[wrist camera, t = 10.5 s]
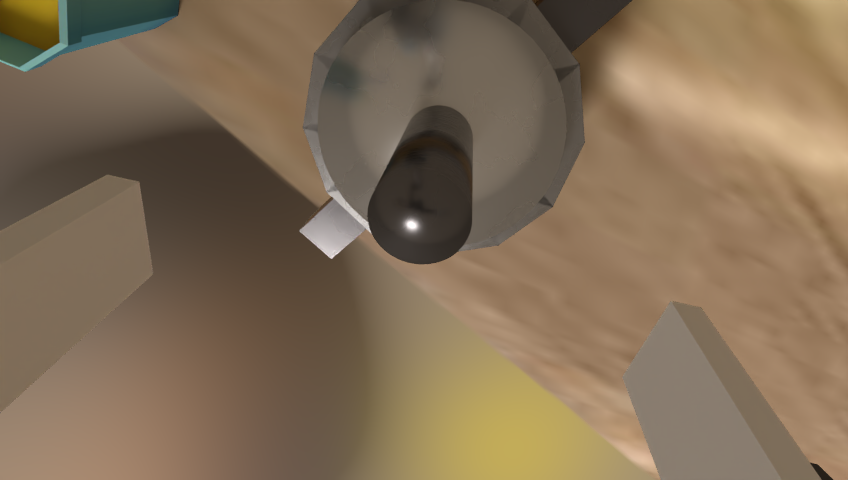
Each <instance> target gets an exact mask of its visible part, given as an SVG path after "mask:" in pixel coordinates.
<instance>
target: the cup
mask: <svg viewBox="0 0 848 480" xmlns="http://www.w3.org/2000/svg"><path fill="white" fill-rule="evenodd" d="M178 9H179V0H0V62H3V63H5V64H7V65H10V66H12V67H15V68H17V69H20V70H22V71H25V72H26V71H29V70H32V69H35V68H37V67H40V66H42V65H44V64H46V63H47V62H49V61H51V60H52V59H54V58H56V57H57V56H59V55H61V54H65V53H69V52H72V51H76V50H79V49H83V48H86V47H90V46H94V45H97V44H101V43H104V42H108V41H112V40H115V39H119V38H123V37H126V36H130V35H133V34H137V33H141V32H144V31H148V30H152V29H155V28H157V27H159V26H160V25H162V24H164V23H165V22H167V21H169V20H171V19H172V18H174V17H176V16H178Z"/></svg>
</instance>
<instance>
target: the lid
mask: <svg viewBox="0 0 848 480" xmlns="http://www.w3.org/2000/svg"><path fill="white" fill-rule="evenodd" d="M566 124H567V118H566V109H565V101H564V97H563V94H562V90H561V86H560V83H559V81H558V78H557V76H556V73H555V71H554V69H553V67H552V65H551V64H550V62H549V60H548V59H547V57H546V55H545V54H544V52H543V51H542V50H541V49H540V47H539V46H538V45H537V44H536V42H535V41H534V40H533V39H532V38H531V37H530V36H529V35H528V34H527V33H526V32H525V31H524V30H522V29H521V28H520V27H519V26H518V25H516V24H515V23H514V22H512V21H511V20H509V19H508V18H506V17H505V16H503V15H501V14H499V13H497V12H495V11H493V10H491V9H489V8H487V7H484V6H481V5H478V4H475V3H471V2H466V1H460V0H425V1H418V2H413V3H409V4H406V5H403V6H399V7H396V8H394V9H392V10H390V11H388V12H385V13H383V14H381V15H379V16H378V17H376V18H375V19H373V20H372V21H370V22H369V23H367V24H366V25H364V26H363V27H362V28H361V29H360V30H359V31H358V32H357V33H355V34H354V35H353V36H352V37H351V38H350V39H349V41H348V42H347V43H346V44H345V46H344V47H343V48H342V49H341V50H340V52H339V53H338V55H337V57H336V58H335V60H334V62H333V63H332V65H331V67H330V69H329V72H328V74H327V76H326V78H325V81H324V84H323V88H322V91H321V95H320V100H319V107H318V137H319V145H320V149H321V153H322V157H323V160H324V163H325V165H326V168H327V171H328V173H329V175H330V177H331V179H332V181H333V183H334V185H335V186H336V188H337V189H338V191H339V192H340V194H341V195H342V197H343V198H344V199H345V200H346V202H347V203H348V204H349V205H350V206H351V207H352V208H353V210H355V211H356V212H357V213H358V214H359V215H360V216H361V217H362V218H363V219H365V220H366V221H367V222H368V224H369V228H370V230H371V233H372V235H373V237H374V238H375V240H376V241H377V243H378V244H379V245H380V246H381V247H382V248H383V249H384V250H385V251H386V252H387V253H389V254H390V255H392V256H394V257H395V258H397V259H400V260H402V261H405V262H409V263H414V264H431V263H437V262H440V261H443V260H445V259H447V258H449V257H451V256H453V255H454V254H455V253H456V252H458V251H459V250H460V249H461V248H462V246H463V245H468V244H473V243H476V242H480V241H483V240H486V239H488V238H491V237H493V236H495V235H498V234H500V233H501V232H503V231H505V230H507V229H508V228H510V227H512V226H513V225H514V224H516V223H517V222H518V221H520V220H521V219H523V218H524V217H525V216H526V215H527V214H528V213H529V212H530V211H531V210H532V209H533V208H534V207H535V206H536V205H537V203H538V202H539V201H540V200H541V199H542V197H543V196H544V195H545V193H546V191H547V190H548V188H549V187H550V185H551V183H552V182H553V179H554V177H555V175H556V173H557V171H558V168H559V165H560V162H561V159H562V156H563V152H564V146H565V140H566Z"/></svg>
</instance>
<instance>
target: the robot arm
mask: <svg viewBox="0 0 848 480" xmlns="http://www.w3.org/2000/svg"><path fill="white" fill-rule="evenodd" d="M140 191H141V190H140V184H139V182H138V181H133V180H129V179H124V178H120V177H115V176H111V175H106V176H104V177H102V178H101V179H98V180H96V181H95V182H93V183H91V184H89V185H87V186H85V187H83V188H81V189H79V190H77V191H76V192H74V193H72V194H70V195H68V196H66V197H64V198H62V199H60V200H58V201H56V202H55V203H53V204H51V205H49V206H47V207H45V208H43V209H41V210H39V211H37V212H35V213H34V214H32V215H30V216H28V217H26V218H24V219H22V220H20V221H18V222H16V223H14V224H13V225H11V226H9V227H7V228H5V229H3V230H1V231H0V413H1V412H2V411H3V410H4V409H5V408H6V407H7V406H8V405H9V404H10V403H12V402H13V401H14V400H15V399H16V398H17V397H18V396H19V395H20V394H21V393H22V392H24V391H25V390H26V389H27V388H28V387H29V386H30V385H31V384H32V383H34V382H35V381H36V380H37V379H38V378H39V377H40V376H41V375H42V374H44V372H46V371H47V370H48V369H49V368H50V367H51V366H52V365H53V364H54V363H56V362H57V361H58V360H59V359H60V358H61V357H62V356H63V355H64V354H66V352H68V351H69V350H70V349H71V348H72V347H73V346H74V345H75V344H77V343H78V342H79V341H80V340H81V339H82V338H83V337H84V336H85V335H86V334H87V333H89V332H90V331H91V330H92V329H93V328H94V327H95V326H96V325H97V324H99V323H100V322H101V321H102V320H103V319H104V318H105V317H106V316H107V315H108V314H109V313H111V312H112V311H113V310H114V309H115V308H116V307H117V306H118V305H119V304H120V303H122V302H123V301H124V300H125V299H126V298H127V297H128V296H129V295H130V294H131V293H133V292H134V291H135V290H136V289H137V288H138V287H139V286H140V285H141V284H142V283H144V282H145V281H146V280H147V279H148V278H149V277H150V276H151V275H152V274H153V269H152V263H151V256H150V249H149V243H148V236H147V230H146V223H145V218H144V210H143V204H142V197H141V192H140ZM623 380H624V383H625V385H626V388H627V391H628V393H629V396H630V399H631V401H632V404H633V407H634V409H635V412H636V415H637V417H638V420H639V423H640V425H641V428H642V431H643V433H644V436H645V439H646V441H647V444H648V447H649V449H650V452H651V455H652V457H653V460H654V462H655V465H656V468H657V470H658V473H659V476H660V478H661V480H833V479H832V478H831V477H830V476H829V475H828V474H827V473H826V472H825V471H824V470H823V469H822V468H821V467H820V466H819V465H818V464H813V463H810V462H809V461H808V459H807V458H806V457H805V455H804V454H803V452H802V451H801V449H800V448H799V447H798V445H797V444H796V442H795V441H794V439H793V438H792V437H791V435H790V434H789V432H788V431H787V429H786V428H785V427H784V425H783V424H782V422H781V421H780V419H779V418H778V417H777V415H776V414H775V412H774V411H773V409H772V408H771V407H770V405H769V404H768V402H767V401H766V399H765V398H764V397H763V395H762V394H761V392H760V391H759V389H758V388H757V387H756V385H755V384H754V382H753V381H752V379H751V378H750V377H749V375H748V374H747V372H746V371H745V369H744V368H743V367H742V365H741V364H740V362H739V361H738V359H737V358H736V357H735V355H734V354H733V352H732V351H731V349H730V348H729V347H728V345H727V344H726V342H725V341H724V339H723V338H722V337H721V335H720V334H719V332H718V331H717V329H716V328H715V327H714V325H713V324H712V322H711V321H710V319H709V318H708V317H707V315H706V314H705V312H704V311H703V309H702V308H701V307H697V306H692V305H688V304H683V303H679V302H674V301H670V303H669V305H668V306H667V308H666V309H665V311H664V312H663V314H662V316H661V317H660V319H659V320H658V322H657V323H656V325H655V327H654V328H653V330H652V331H651V333H650V334H649V336H648V338H647V339H646V341H645V342H644V344H643V345H642V347H641V349H640V350H639V352H638V353H637V355H636V356H635V358H634V360H633V361H632V363H631V364H630V366H629V367H628V369H627V371H626V372H625V374H624V375H623Z"/></svg>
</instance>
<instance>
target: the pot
mask: <svg viewBox="0 0 848 480" xmlns="http://www.w3.org/2000/svg"><path fill="white" fill-rule="evenodd" d="M418 1H425V0H359V1H358V2H357V4H356V5H355V6H354V7H353V8H352V10H351V11H350V12H349V13H348V14H347V15H346V17H345V18H344V19H343V20H342V21H341V23H340V24H339V25H338V26H337V27H336V28H335V30H334V31H333V32H332V33H331V34H330V36H329V37H328V38H327V39H326V40H325V41H324V43H323V44H322V45H321V46H320V47H319V49H318V50H317V51H316V52H315V53H314V58H313V65H312V71H311V78H310V84H309V91H308V98H307V104H306V111H305V117H304V124H303V129H304V132H305V134H306V137H307V140H308V142H309V145H310V148H311V151H312V153H313V156H314V159H315V161H316V164H317V167H318V170H319V172H320V175H321V178H322V180H323V183H324V186H325V189H326V192H327V193H328V194H329V195H330V196H332V197H331V198H330V199H329V200H327V201H326V202H325V203H324V204H323V205H322V206H321V207H320V208H319V209H318V210H317V211H316V212H315V213H314V214H313V215H312V216H311V217H310V218H309V219H308V220H307V221H306V223H305V224H304V225H303V227H302V228H301V230H300V232H301V233H302V234H303V235H305V236H306V237H307V238H308V239H309V240H310V241H311V242H313V243H314V244H315V245H316V246H317V247H318V248H320V249H321V250H322V251H323V252H324V253H325V254H326V255H328V256H329V257H330V258H333V257H334V256H335V255H336V254H338V253H339V252H340V251H341V250H342V249H343V248H344V247H346V246H347V245H348V244H349V243H350V242H351V241H353V240H354V239H355V238H356V237H357V236H359V235H360V234H361V233H362V232H363V231H364V230H365V229H367V230H368V231H369V232H370V233H371V230H370V228H369V224H368V222H367V221H366V220H365V219H363V218H362V217H361V216H360V215H359V214H358V213H357V212H356V211H355V210H353V208H352V207H351V206H350V205H349V204H348V203H347V202H346V200H345V199H344V198H343V197H342V195H341V194H340V192H339V191H338V189H337V188H336V186H335V185H334V183H333V181H332V179H331V177H330V175H329V173H328V171H327V168H326V165H325V163H324V160H323V157H322V153H321V149H320V145H319V137H318V107H319V100H320V95H321V91H322V88H323V84H324V81H325V78H326V76H327V74H328V72H329V69H330V67H331V65H332V63H333V62H334V60H335V58H336V57H337V55H338V53H339V52H340V50H341V49H342V48H343V47H344V46H345V44H346V43H347V42H348V41H349V39H350V38H351V37H352V36H353V35H354V34H355V33H357V32H358V31H359V30H360V29H361V28H362V27H363V26H364V25H366V24H367V23H369V22H370V21H372V20H373V19H375V18H376V17H378V16H379V15H381V14H383V13H385V12H388V11H390V10H392V9H394V8H396V7H399V6H403V5H406V4H409V3H413V2H418ZM460 1H466V2H471V3H475V4H478V5H481V6H484V7H487V8H489V9H491V10H493V11H495V12H497V13H499V14H501V15H503V16H505V17H506V18H508V19H509V20H511V21H512V22H514V23H515V24H516V25H518V26H519V27H520V28H521V29H522V30H524V31H525V32H526V33H527V34H528V35H529V36H530V37H531V38H532V39H533V40H534V41H535V42H536V44H537V45H538V46H539V47H540V49H541V50H542V51H543V52H544V54H545V55H546V57H547V59H548V60H549V62H550V64H551V65H552V67H553V69H554V71H555V73H556V76H557V78H558V81H559V83H560V86H561V90H562V94H563V97H564V101H565V109H566V118H567V124H566V140H565V146H564V152H563V156H562V159H561V162H560V165H559V168H558V171H557V173H556V175H555V177H554V179H553V182H552V183H551V185H550V187H549V188H548V190H547V191H546V193H545V195H544V196H543V197H542V199H541V200H540V201H539V202H538V203H537V205H536V206H535V207H534V208H533V209H532V210H531V211H530V212H529V213H528V214H527V215H526V216H525V217H524V218H523V219H521V220H520V221H518V222H517V223H516V224H514V225H513V226H512V227H510V228H508V229H507V230H505V231H503V232H501V233H500V234H498V235H495V236H493V237H491V238H488V239H486V240H483V241H480V242H476V243H473V244H468V245H463V246H462V248H461V249H460V250H459V251H465V250H471V249H478V248H484V247H491V246H498V245H499V244H501V243H502V242H504V241H505V240H506V239H508V238H509V237H511V236H512V235H514V234H515V233H516V232H518V231H519V230H521V229H522V228H523V227H525V226H526V225H528V224H529V223H530V222H532V221H533V220H535V219H536V218H538V217H539V216H540V215H542V214H543V213H545V212H546V211H547V210H549V209H550V208H552V207H553V205H554V203H555V201H556V199H557V197H558V195H559V193H560V191H561V189H562V187H563V185H564V183H565V181H566V179H567V177H568V175H569V173H570V171H571V169H572V167H573V165H574V163H575V161H576V159H577V157H578V155H579V153H580V151H581V149H582V147H583V145H584V143H585V139H584V124H583V109H582V95H581V80H580V65H579V63H578V62H577V61H576V59H575V58H574V56H573V55H572V54H571V53H572V52H573V51H574V50H575V49H576V48H577V47H579V46H580V45H581V44H582V43H583V42H584V41H586V40H587V39H588V38H589V37H590V36H591V35H593V34H594V33H595V32H596V31H597V30H598V29H600V28H601V27H602V26H603V25H604V24H605V23H606V22H608V21H609V20H610V19H611V18H612V17H613V16H615V15H616V14H617V13H618V12H619V11H620V10H622V9H623V8H624V7H625V6H626V5H627V4H629V3H630V2H631V1H632V0H538V1H537V2H536V3H535V4H534V2H533V1H532V0H460ZM371 234H372V233H371Z"/></svg>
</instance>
